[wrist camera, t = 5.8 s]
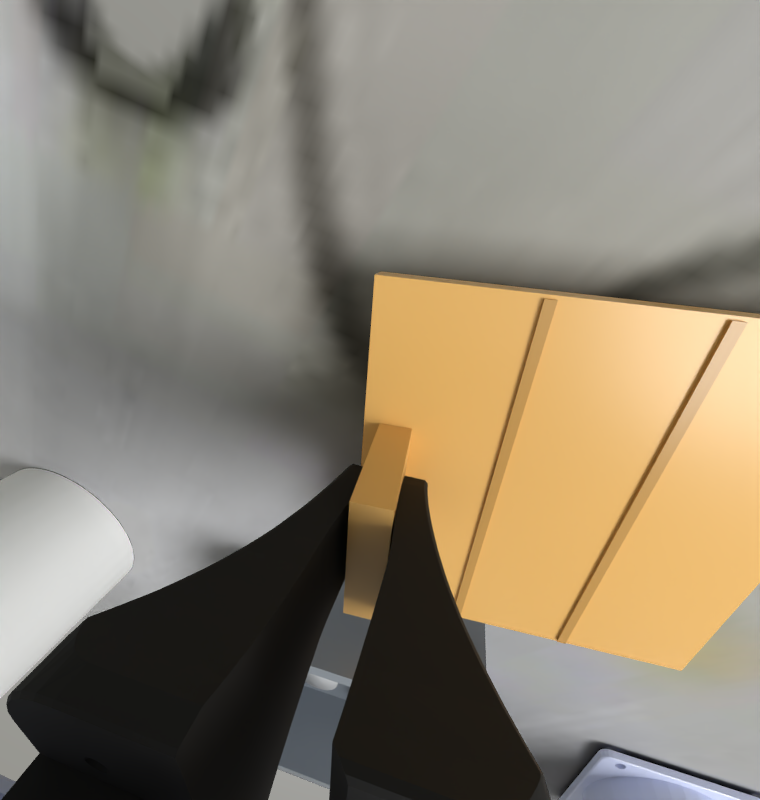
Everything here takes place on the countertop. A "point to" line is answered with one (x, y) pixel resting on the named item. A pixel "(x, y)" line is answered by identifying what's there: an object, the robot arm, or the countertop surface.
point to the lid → (565, 460)
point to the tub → (334, 692)
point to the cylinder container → (51, 564)
